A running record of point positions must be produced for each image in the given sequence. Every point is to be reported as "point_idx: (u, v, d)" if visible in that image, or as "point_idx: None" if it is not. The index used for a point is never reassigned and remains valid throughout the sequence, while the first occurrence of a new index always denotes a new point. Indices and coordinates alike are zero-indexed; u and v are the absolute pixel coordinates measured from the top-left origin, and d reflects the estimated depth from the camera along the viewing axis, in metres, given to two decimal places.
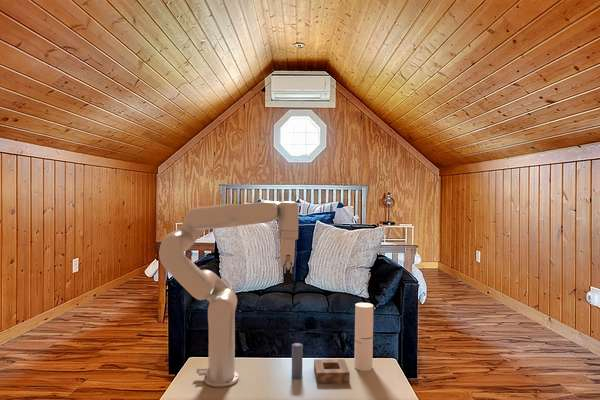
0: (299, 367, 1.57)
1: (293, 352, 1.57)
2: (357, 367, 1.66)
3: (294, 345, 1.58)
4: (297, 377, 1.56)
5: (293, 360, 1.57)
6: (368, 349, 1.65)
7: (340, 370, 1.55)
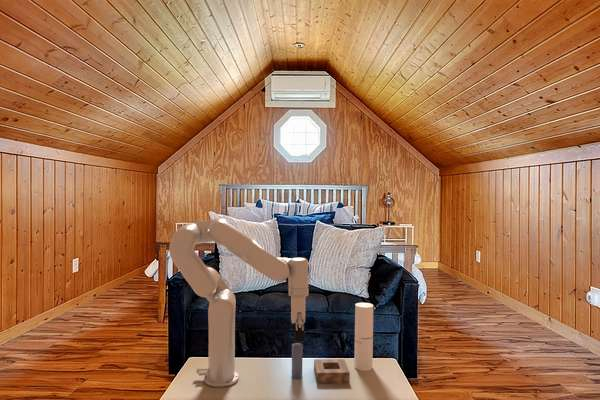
0: (299, 367, 1.57)
1: (293, 352, 1.57)
2: (357, 367, 1.66)
3: (294, 345, 1.58)
4: (297, 377, 1.56)
5: (293, 360, 1.57)
6: (368, 349, 1.65)
7: (340, 370, 1.55)
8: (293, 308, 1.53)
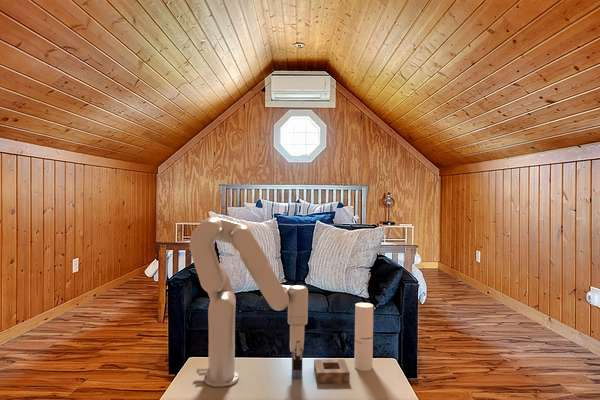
0: None
1: (293, 352, 1.57)
2: (357, 367, 1.66)
3: None
4: (297, 377, 1.56)
5: None
6: (368, 349, 1.65)
7: (340, 370, 1.55)
8: (292, 337, 1.53)
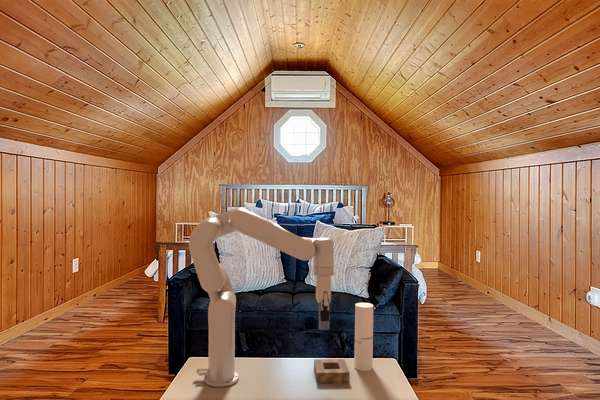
0: None
1: (320, 303, 1.57)
2: (357, 367, 1.66)
3: None
4: (325, 328, 1.57)
5: None
6: (368, 349, 1.65)
7: (340, 370, 1.55)
8: (319, 287, 1.53)
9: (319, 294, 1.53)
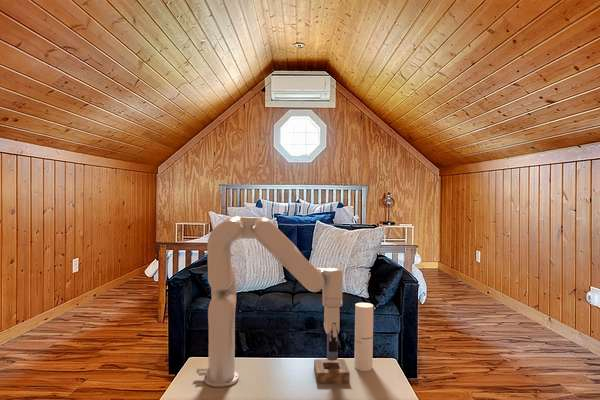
0: None
1: (328, 334, 1.57)
2: (357, 367, 1.66)
3: None
4: (333, 359, 1.57)
5: (328, 342, 1.57)
6: (368, 349, 1.65)
7: (340, 370, 1.55)
8: (328, 318, 1.54)
9: (328, 325, 1.54)
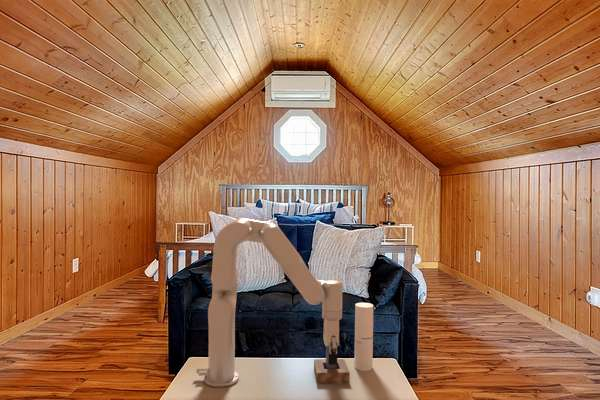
0: (334, 367, 1.57)
1: (328, 352, 1.58)
2: (357, 367, 1.66)
3: None
4: None
5: None
6: (368, 349, 1.65)
7: (340, 370, 1.55)
8: (327, 331, 1.54)
9: (327, 338, 1.54)
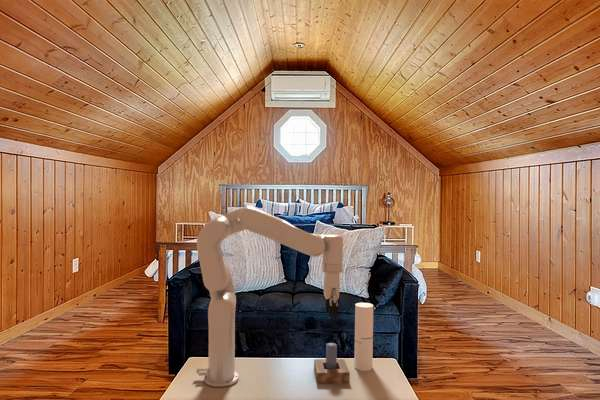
0: (334, 367, 1.57)
1: (328, 352, 1.58)
2: (357, 367, 1.66)
3: (328, 345, 1.58)
4: None
5: (328, 360, 1.58)
6: (368, 349, 1.65)
7: (340, 370, 1.55)
8: (328, 284, 1.54)
9: (327, 291, 1.53)
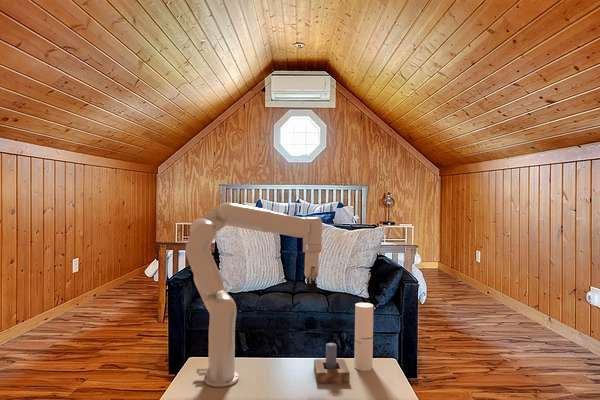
0: (333, 367, 1.57)
1: (327, 352, 1.58)
2: (357, 367, 1.66)
3: (328, 345, 1.58)
4: None
5: (327, 360, 1.58)
6: (368, 349, 1.65)
7: (340, 370, 1.55)
8: (307, 262, 1.63)
9: (307, 269, 1.63)
